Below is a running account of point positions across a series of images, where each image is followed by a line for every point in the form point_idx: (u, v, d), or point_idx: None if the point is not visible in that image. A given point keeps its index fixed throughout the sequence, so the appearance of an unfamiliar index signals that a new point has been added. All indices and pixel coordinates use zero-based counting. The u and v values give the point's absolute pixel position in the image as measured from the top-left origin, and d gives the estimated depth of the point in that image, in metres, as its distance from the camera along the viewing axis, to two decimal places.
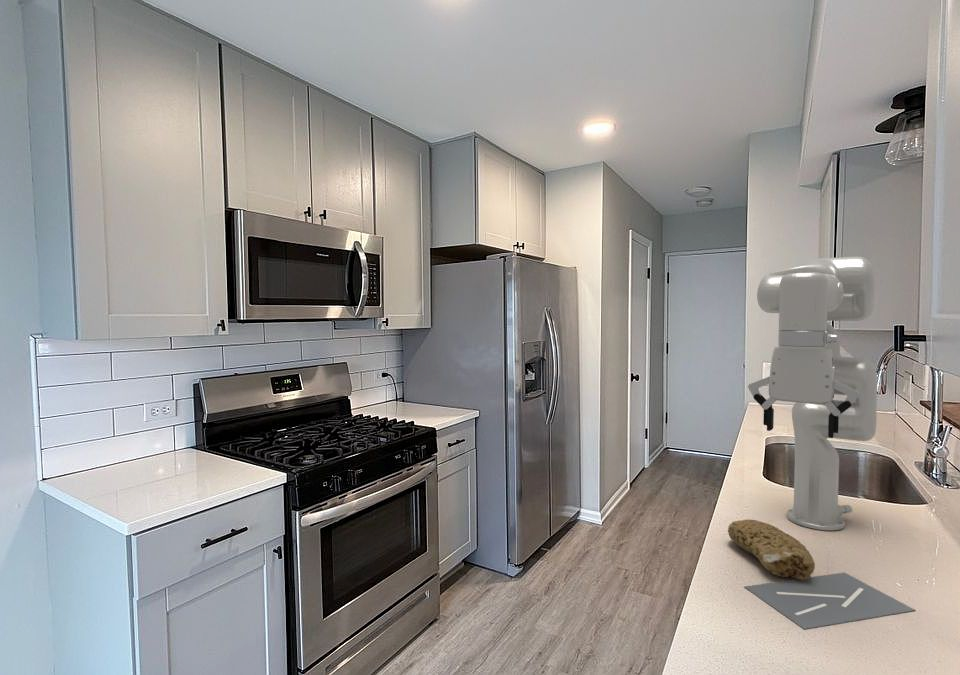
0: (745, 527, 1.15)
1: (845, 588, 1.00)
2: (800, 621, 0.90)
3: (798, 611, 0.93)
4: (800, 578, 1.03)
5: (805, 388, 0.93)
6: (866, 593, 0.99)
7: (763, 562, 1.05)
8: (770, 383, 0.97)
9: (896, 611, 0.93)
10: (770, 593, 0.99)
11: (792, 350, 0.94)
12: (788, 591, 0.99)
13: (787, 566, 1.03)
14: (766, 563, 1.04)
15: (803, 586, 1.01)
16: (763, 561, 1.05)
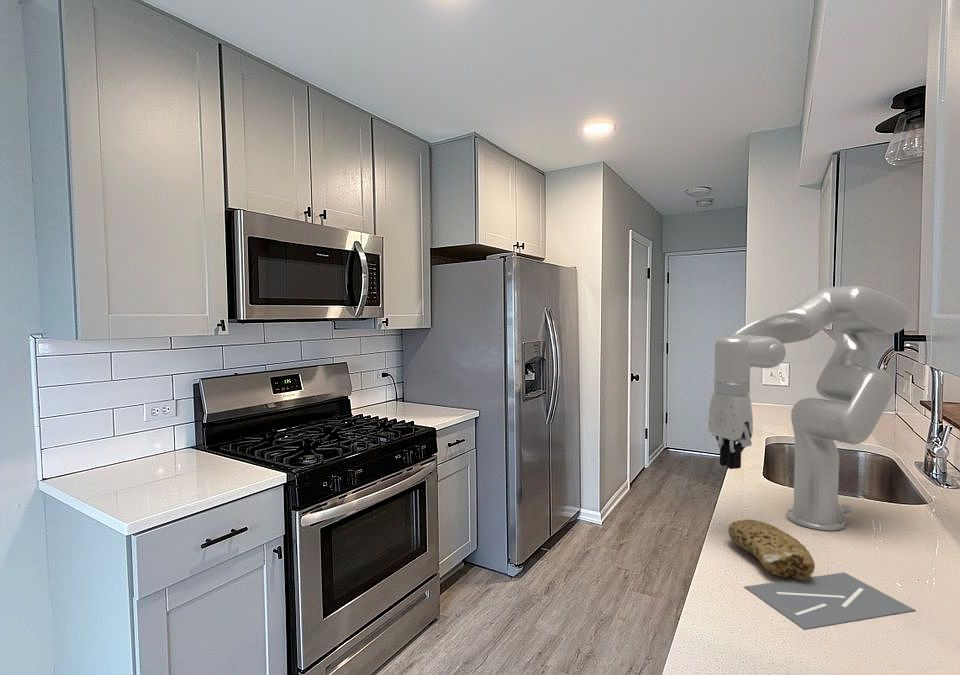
0: (745, 527, 1.15)
1: (845, 588, 1.00)
2: (800, 621, 0.90)
3: (798, 611, 0.93)
4: (800, 578, 1.03)
5: None
6: (866, 593, 0.99)
7: (763, 562, 1.05)
8: (752, 427, 1.19)
9: (896, 611, 0.93)
10: (770, 593, 0.99)
11: None
12: (788, 591, 0.99)
13: (787, 566, 1.03)
14: (766, 563, 1.04)
15: (803, 586, 1.01)
16: (763, 561, 1.05)
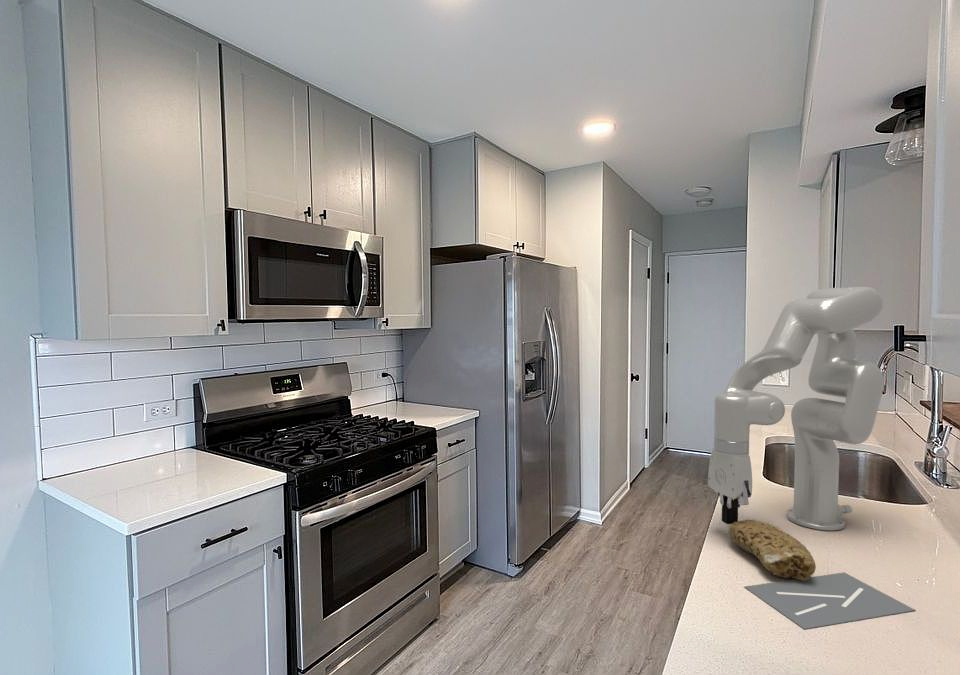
0: (746, 527, 1.15)
1: (845, 588, 1.00)
2: (800, 621, 0.90)
3: (798, 611, 0.93)
4: (801, 579, 1.03)
5: None
6: (866, 593, 0.99)
7: (764, 562, 1.05)
8: None
9: (896, 611, 0.93)
10: (770, 593, 0.99)
11: None
12: (788, 591, 0.99)
13: (787, 567, 1.03)
14: (767, 563, 1.04)
15: (803, 586, 1.01)
16: (764, 561, 1.05)
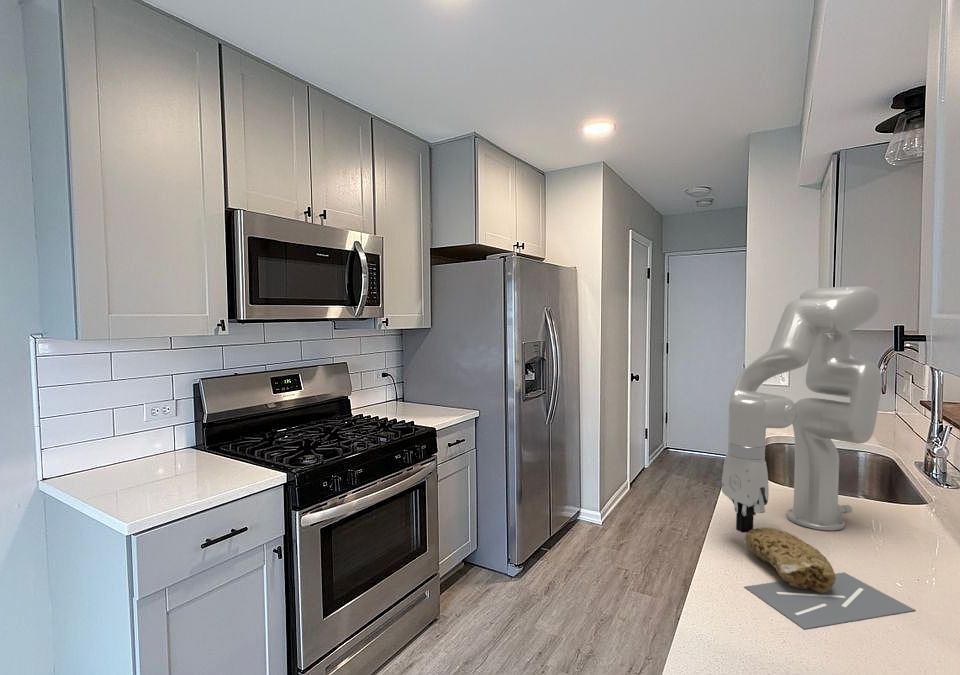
0: (762, 535, 1.11)
1: (845, 588, 1.00)
2: (800, 621, 0.90)
3: (798, 611, 0.93)
4: (820, 590, 0.98)
5: None
6: (866, 593, 0.99)
7: (780, 572, 1.01)
8: (768, 492, 1.14)
9: (896, 611, 0.93)
10: (770, 593, 0.99)
11: None
12: (788, 591, 0.99)
13: (805, 578, 0.98)
14: (783, 574, 1.00)
15: None
16: (780, 571, 1.01)
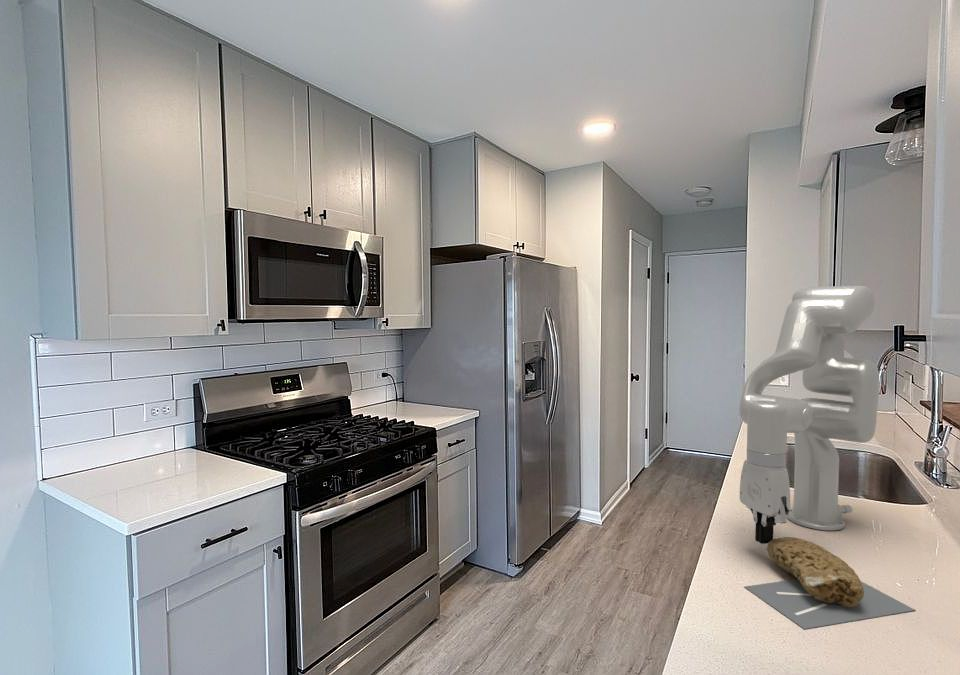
0: (786, 545, 1.06)
1: None
2: (800, 621, 0.90)
3: (798, 611, 0.93)
4: (847, 605, 0.93)
5: None
6: (866, 593, 0.99)
7: (805, 585, 0.96)
8: None
9: (896, 611, 0.93)
10: (770, 593, 0.99)
11: None
12: (788, 591, 0.99)
13: (831, 591, 0.93)
14: (808, 586, 0.95)
15: None
16: (805, 584, 0.96)
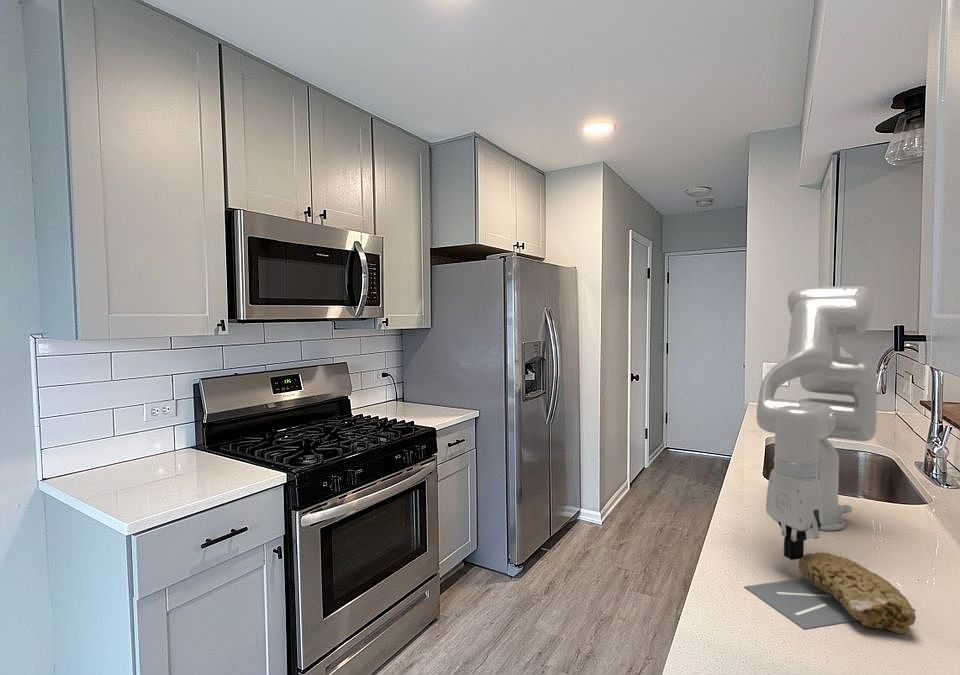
0: (821, 563, 0.98)
1: None
2: (800, 621, 0.90)
3: (798, 611, 0.93)
4: (897, 630, 0.86)
5: None
6: None
7: (850, 609, 0.88)
8: None
9: None
10: (770, 593, 0.99)
11: None
12: (788, 591, 0.99)
13: (881, 616, 0.86)
14: (854, 611, 0.87)
15: (803, 586, 1.01)
16: (850, 608, 0.88)
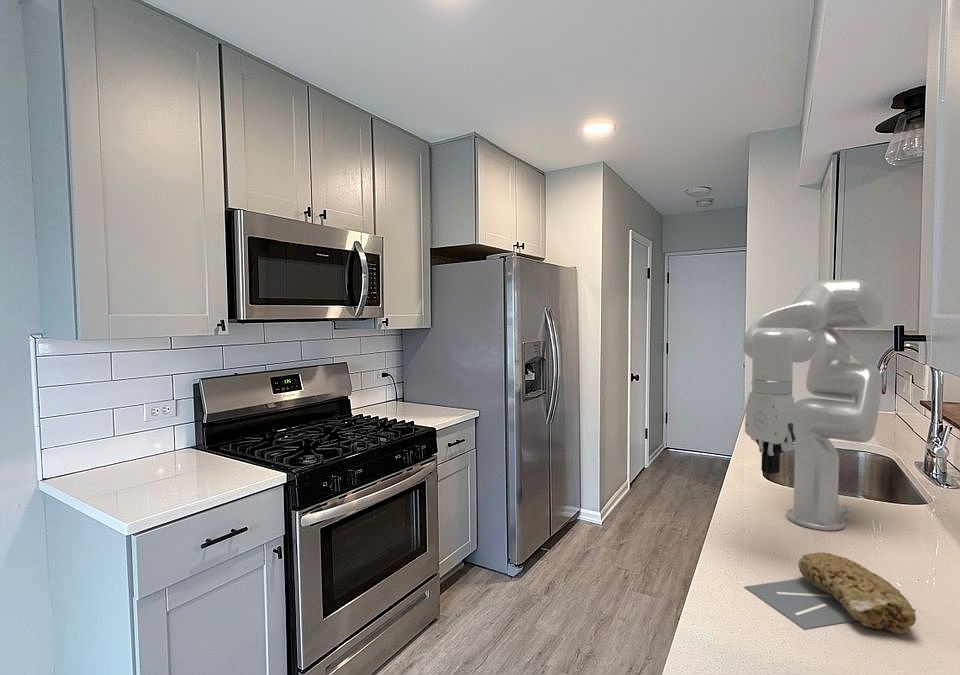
0: (822, 563, 0.98)
1: None
2: (800, 621, 0.90)
3: (798, 611, 0.93)
4: (897, 631, 0.86)
5: None
6: None
7: (850, 610, 0.88)
8: None
9: None
10: (770, 593, 0.99)
11: None
12: (788, 591, 0.99)
13: (881, 617, 0.86)
14: (855, 612, 0.87)
15: (803, 586, 1.01)
16: (850, 608, 0.88)
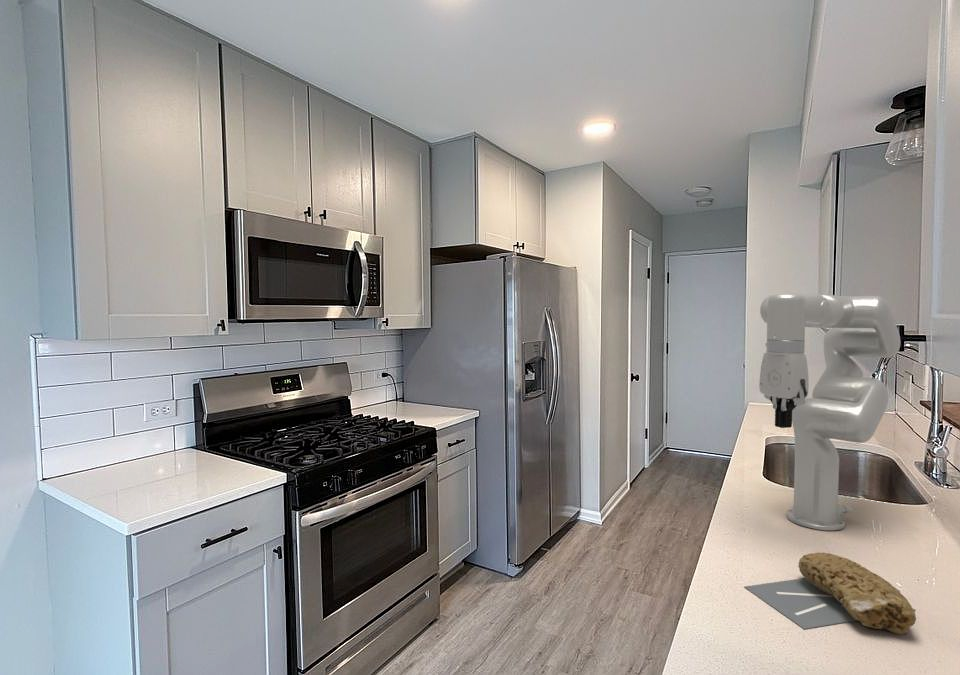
0: (822, 563, 0.98)
1: None
2: (800, 621, 0.90)
3: (798, 611, 0.93)
4: (897, 631, 0.86)
5: None
6: None
7: (850, 610, 0.88)
8: None
9: None
10: (770, 593, 0.99)
11: None
12: (788, 591, 0.99)
13: (881, 617, 0.86)
14: (855, 612, 0.87)
15: (803, 586, 1.01)
16: (850, 608, 0.88)
